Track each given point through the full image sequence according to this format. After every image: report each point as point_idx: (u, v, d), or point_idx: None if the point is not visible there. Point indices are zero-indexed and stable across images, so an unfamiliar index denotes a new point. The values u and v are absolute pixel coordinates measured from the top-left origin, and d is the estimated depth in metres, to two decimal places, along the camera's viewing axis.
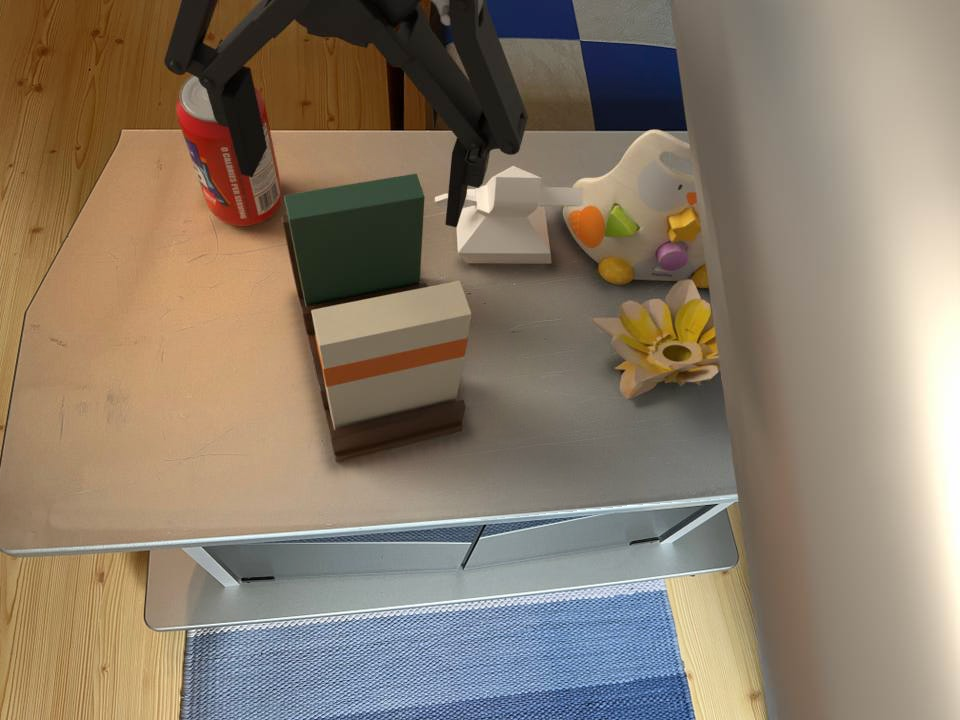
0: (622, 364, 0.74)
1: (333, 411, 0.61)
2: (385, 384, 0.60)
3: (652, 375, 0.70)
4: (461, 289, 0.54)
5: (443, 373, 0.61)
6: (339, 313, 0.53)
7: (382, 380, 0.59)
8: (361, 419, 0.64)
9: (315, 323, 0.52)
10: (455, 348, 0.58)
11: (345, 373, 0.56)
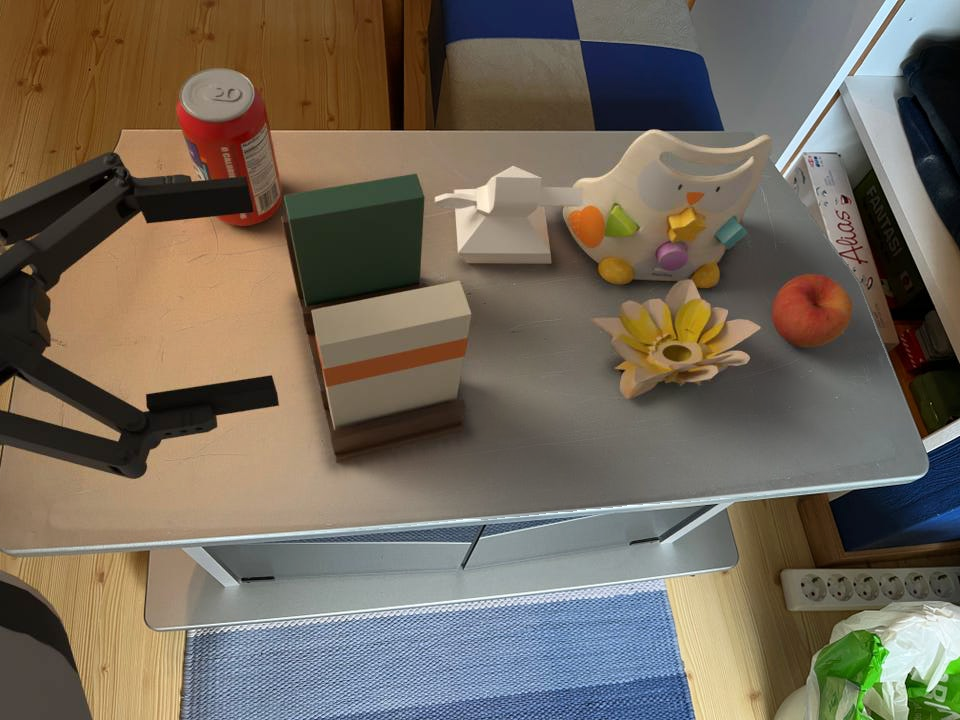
0: (622, 364, 0.74)
1: (333, 411, 0.61)
2: (385, 384, 0.60)
3: (652, 375, 0.70)
4: (461, 289, 0.54)
5: (443, 373, 0.61)
6: (339, 313, 0.53)
7: (382, 380, 0.59)
8: (361, 419, 0.64)
9: (315, 323, 0.52)
10: (455, 348, 0.58)
11: (345, 373, 0.56)
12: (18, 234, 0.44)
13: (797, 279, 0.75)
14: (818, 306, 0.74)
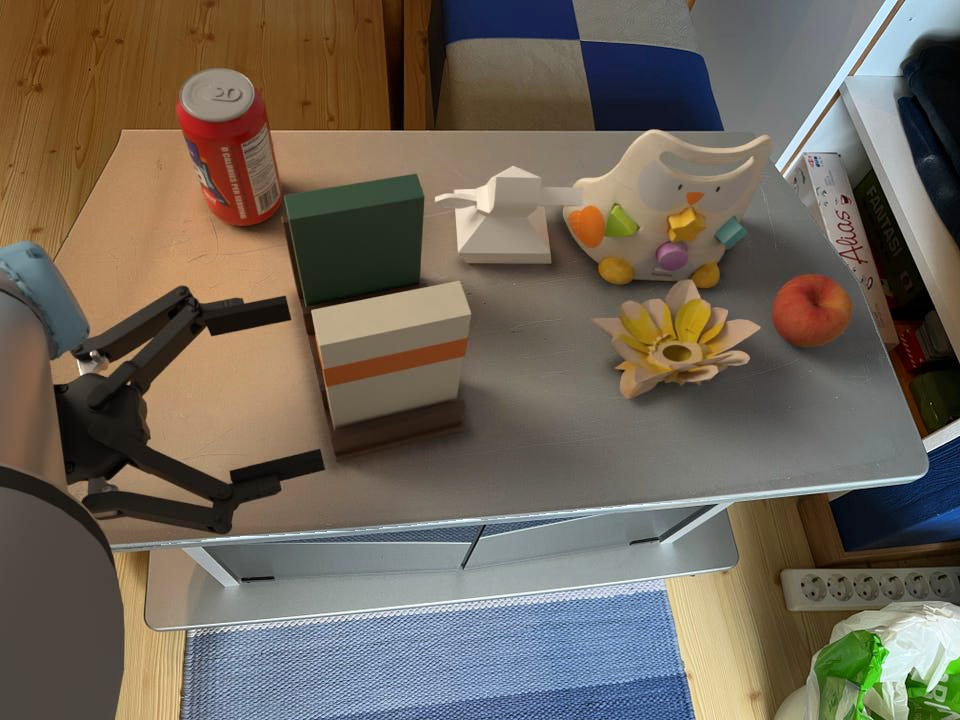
0: (622, 364, 0.74)
1: (333, 411, 0.61)
2: (385, 384, 0.60)
3: (652, 375, 0.70)
4: (461, 289, 0.54)
5: (443, 373, 0.61)
6: (339, 313, 0.53)
7: (382, 380, 0.59)
8: (361, 419, 0.64)
9: (315, 323, 0.52)
10: (455, 348, 0.58)
11: (345, 373, 0.56)
12: (117, 355, 0.58)
13: (797, 279, 0.75)
14: (818, 306, 0.74)
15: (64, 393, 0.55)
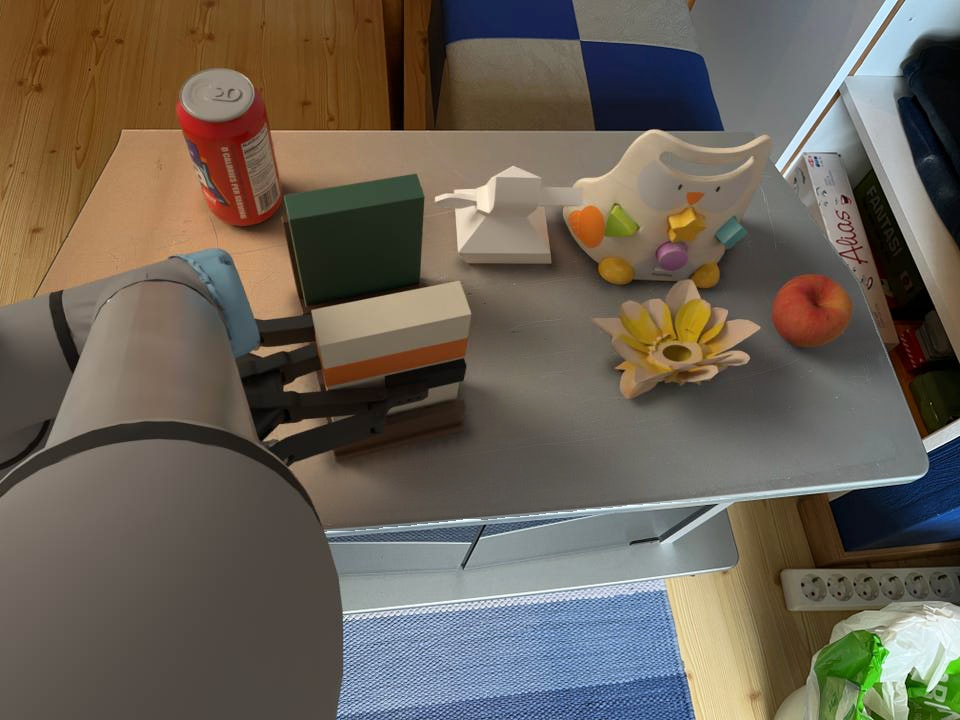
0: (622, 364, 0.74)
1: None
2: None
3: (652, 375, 0.70)
4: (461, 289, 0.54)
5: None
6: (339, 313, 0.53)
7: (382, 380, 0.59)
8: None
9: (315, 323, 0.52)
10: (455, 348, 0.58)
11: (345, 373, 0.56)
12: (271, 343, 0.61)
13: (797, 279, 0.75)
14: (818, 306, 0.74)
15: None
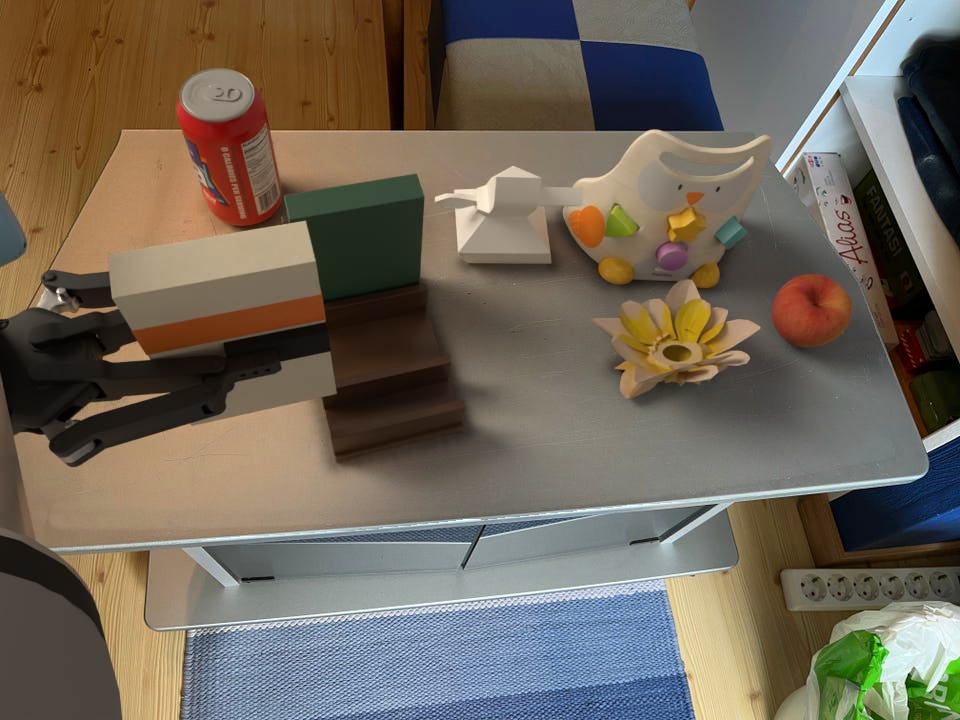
0: (622, 364, 0.74)
1: None
2: None
3: (652, 375, 0.70)
4: (306, 231, 0.43)
5: None
6: (144, 258, 0.41)
7: (223, 348, 0.48)
8: None
9: (110, 270, 0.41)
10: (309, 308, 0.46)
11: (164, 337, 0.45)
12: (92, 303, 0.50)
13: (797, 279, 0.75)
14: (818, 306, 0.74)
15: (3, 329, 0.46)
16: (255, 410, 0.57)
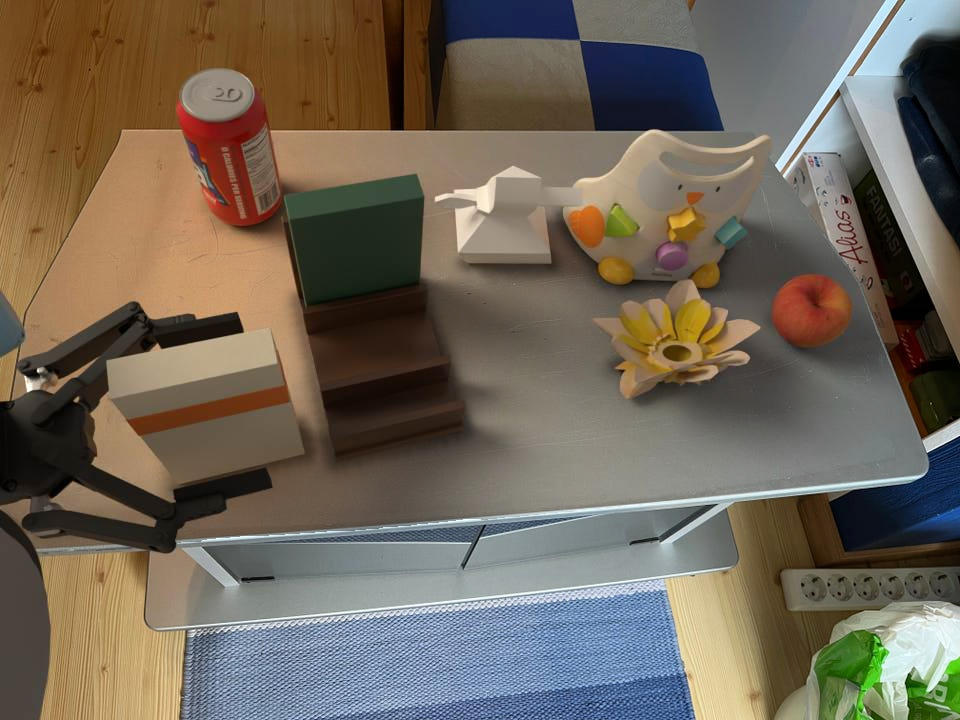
0: (622, 364, 0.74)
1: (159, 457, 0.59)
2: (208, 431, 0.58)
3: (652, 375, 0.70)
4: (270, 337, 0.52)
5: (272, 418, 0.59)
6: (136, 363, 0.50)
7: (203, 427, 0.57)
8: (196, 464, 0.62)
9: (108, 374, 0.50)
10: (275, 395, 0.56)
11: (153, 422, 0.54)
12: (67, 371, 0.58)
13: (797, 279, 0.75)
14: (818, 306, 0.74)
15: (9, 410, 0.54)
16: (234, 470, 0.66)
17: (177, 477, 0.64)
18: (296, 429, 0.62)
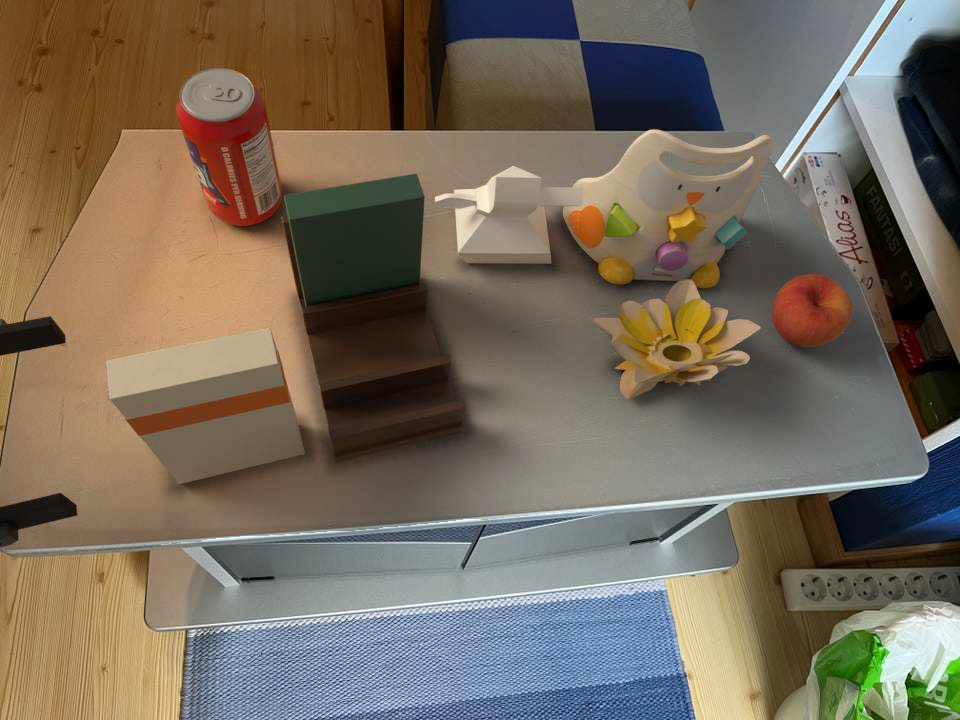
0: (622, 364, 0.74)
1: (159, 457, 0.59)
2: (208, 431, 0.58)
3: (652, 375, 0.70)
4: (270, 337, 0.52)
5: (272, 418, 0.59)
6: (136, 363, 0.50)
7: (203, 427, 0.57)
8: (197, 464, 0.62)
9: (108, 374, 0.50)
10: (275, 395, 0.56)
11: (153, 422, 0.54)
12: None
13: (797, 279, 0.75)
14: (818, 306, 0.74)
15: None
16: (234, 470, 0.66)
17: (177, 477, 0.64)
18: (296, 429, 0.62)
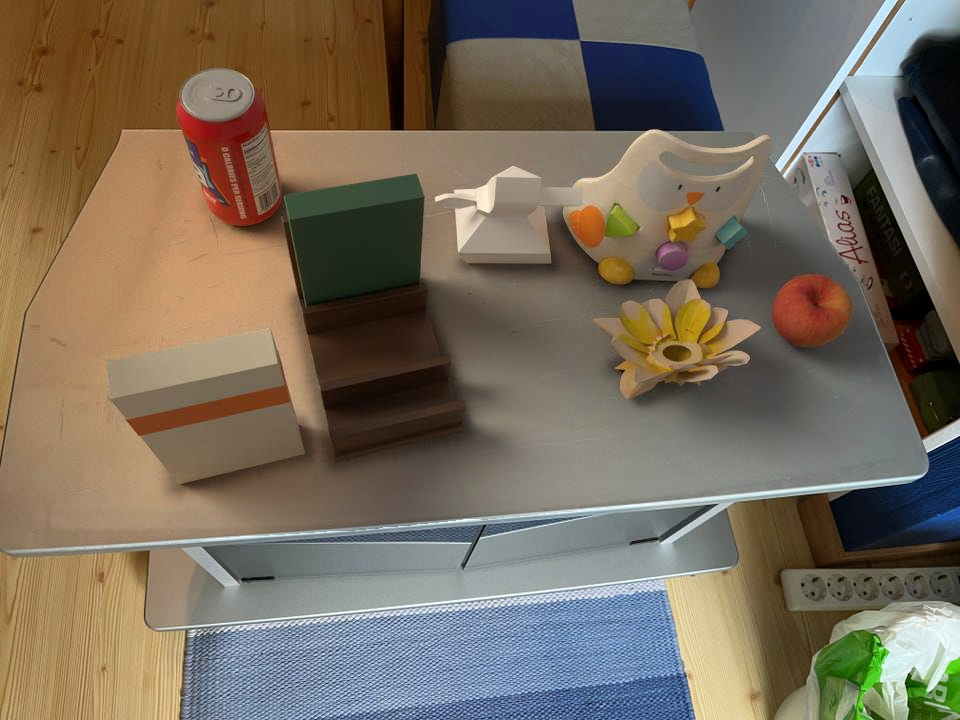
0: (622, 364, 0.74)
1: (159, 457, 0.59)
2: (208, 431, 0.58)
3: (652, 375, 0.70)
4: (270, 337, 0.52)
5: (272, 418, 0.59)
6: (136, 363, 0.50)
7: (203, 427, 0.57)
8: (196, 464, 0.62)
9: (108, 374, 0.50)
10: (275, 395, 0.56)
11: (153, 422, 0.54)
12: None
13: (797, 279, 0.75)
14: (818, 306, 0.74)
15: None
16: (234, 470, 0.66)
17: (177, 477, 0.64)
18: (296, 429, 0.62)
